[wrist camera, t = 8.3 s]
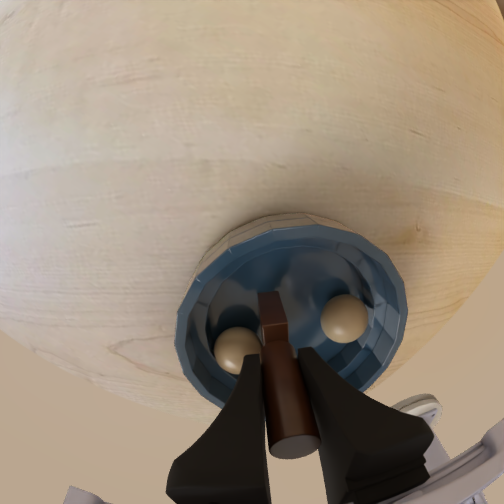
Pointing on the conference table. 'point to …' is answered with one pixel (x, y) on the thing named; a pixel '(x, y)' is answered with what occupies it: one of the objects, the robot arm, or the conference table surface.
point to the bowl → (290, 297)
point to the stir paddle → (284, 386)
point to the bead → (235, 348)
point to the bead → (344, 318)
